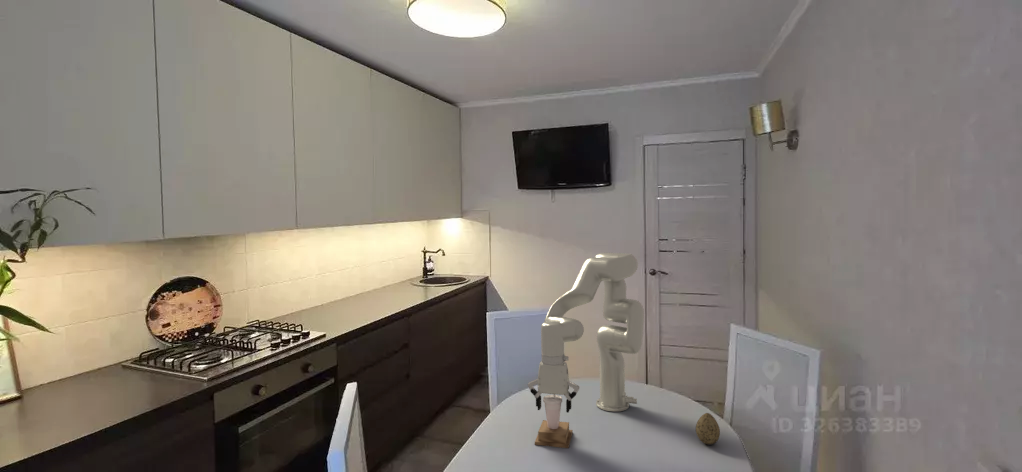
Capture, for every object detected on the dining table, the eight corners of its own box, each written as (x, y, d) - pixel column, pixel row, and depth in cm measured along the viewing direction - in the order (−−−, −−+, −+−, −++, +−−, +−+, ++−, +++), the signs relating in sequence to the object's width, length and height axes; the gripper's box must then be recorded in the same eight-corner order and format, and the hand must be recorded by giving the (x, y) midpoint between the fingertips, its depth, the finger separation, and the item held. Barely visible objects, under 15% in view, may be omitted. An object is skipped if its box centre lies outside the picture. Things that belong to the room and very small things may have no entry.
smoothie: (561, 431, 151) (561, 389, 150) (542, 430, 152) (541, 388, 152) (563, 423, 157) (563, 382, 157) (544, 421, 158) (544, 381, 158)
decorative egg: (716, 439, 152) (716, 409, 152) (722, 449, 145) (722, 418, 145) (693, 437, 153) (693, 408, 153) (698, 448, 146) (698, 417, 146)
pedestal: (572, 432, 159) (572, 421, 158) (568, 448, 148) (568, 436, 148) (541, 429, 161) (540, 418, 161) (534, 444, 151) (534, 432, 150)
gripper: (580, 357, 155) (580, 407, 156) (529, 354, 160) (530, 403, 160) (577, 364, 148) (578, 416, 148) (525, 361, 152) (526, 412, 153)
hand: (553, 409), depth 154 cm, fingers open, 9 cm apart
